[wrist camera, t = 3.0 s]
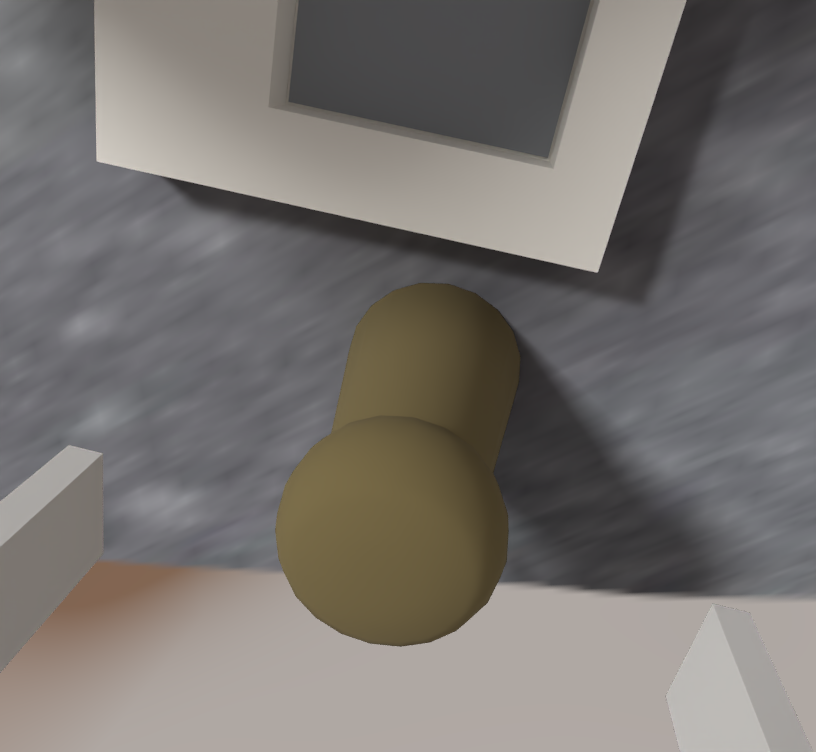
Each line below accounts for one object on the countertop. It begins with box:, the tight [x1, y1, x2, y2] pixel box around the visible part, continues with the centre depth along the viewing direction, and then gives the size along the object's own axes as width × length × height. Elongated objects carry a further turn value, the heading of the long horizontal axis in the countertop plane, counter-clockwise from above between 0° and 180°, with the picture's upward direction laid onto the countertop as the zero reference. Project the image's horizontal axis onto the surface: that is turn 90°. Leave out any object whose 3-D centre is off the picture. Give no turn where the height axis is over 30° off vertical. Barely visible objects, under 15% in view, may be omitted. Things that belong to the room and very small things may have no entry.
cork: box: [275, 283, 520, 646], centre depth 18 cm, size 6×6×11 cm
